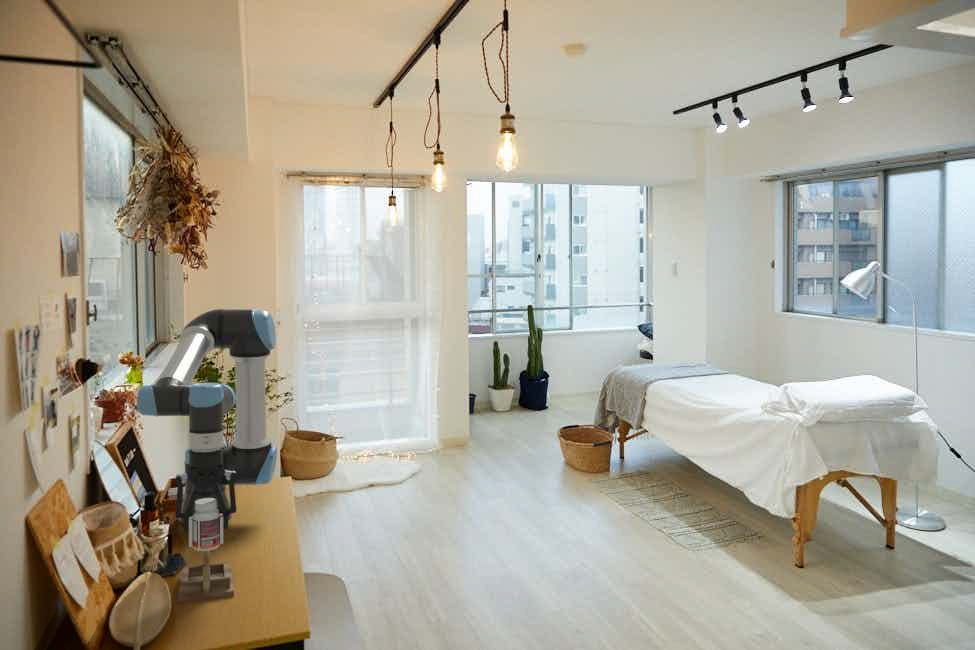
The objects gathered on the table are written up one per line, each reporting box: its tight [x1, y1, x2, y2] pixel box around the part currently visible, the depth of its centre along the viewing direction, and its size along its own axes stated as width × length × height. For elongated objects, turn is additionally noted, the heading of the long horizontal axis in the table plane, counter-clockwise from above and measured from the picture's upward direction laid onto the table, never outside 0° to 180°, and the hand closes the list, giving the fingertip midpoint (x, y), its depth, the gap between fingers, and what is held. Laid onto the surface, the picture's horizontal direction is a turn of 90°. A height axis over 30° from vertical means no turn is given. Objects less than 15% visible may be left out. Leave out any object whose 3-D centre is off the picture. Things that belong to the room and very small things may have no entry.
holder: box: [177, 550, 235, 604], centre depth 175 cm, size 14×12×7 cm
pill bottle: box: [192, 498, 221, 552], centre depth 174 cm, size 6×6×11 cm
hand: (206, 543), depth 174 cm, fingers closed on pill bottle, 6 cm apart
